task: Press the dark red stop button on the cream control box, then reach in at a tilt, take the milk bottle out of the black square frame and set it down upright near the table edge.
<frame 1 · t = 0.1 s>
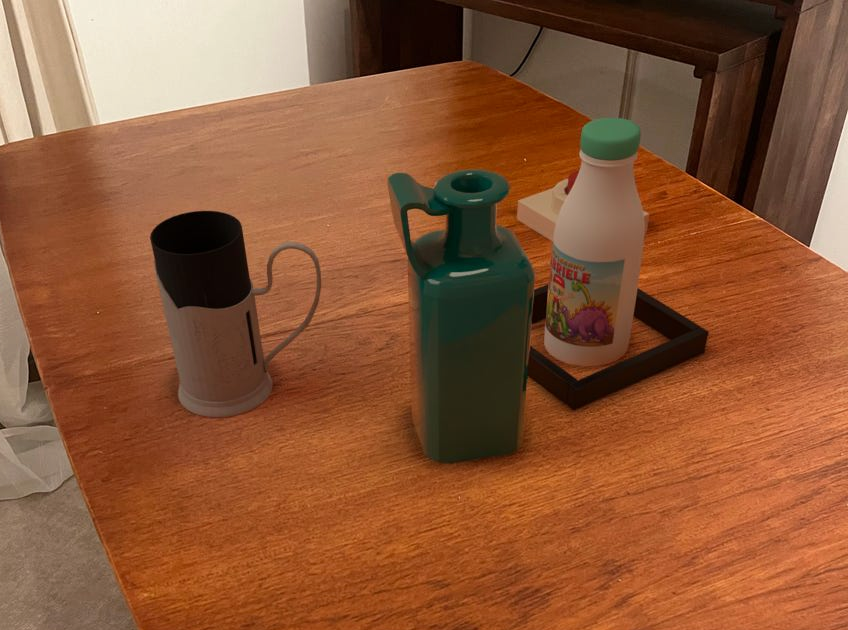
glass holder: (255, 389, 93), on the table
control box: (580, 226, 110), on the table
pitcher: (459, 439, 87), on the table
black square frame: (585, 350, 94), on the table
stop button: (584, 185, 107), point 4 cm above the table, slide at 0.1 cm
milk bottle: (584, 352, 94), resting in black square frame
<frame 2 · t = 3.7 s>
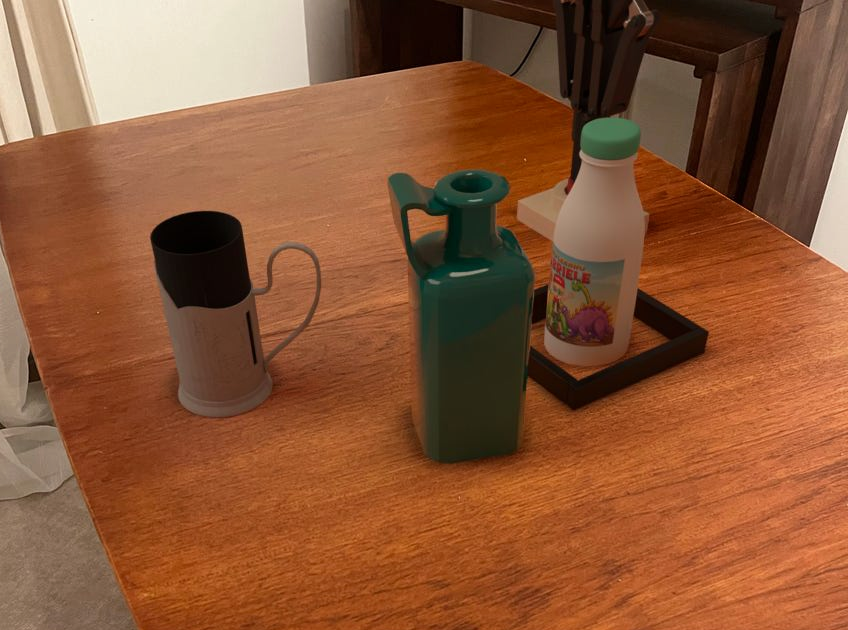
hand: (584, 177, 106), 5 cm above the table, tool pointing down, fingers closed
stop button: (584, 188, 107), point 4 cm above the table, slide at -0.2 cm, touching gripper
everything else where it was.
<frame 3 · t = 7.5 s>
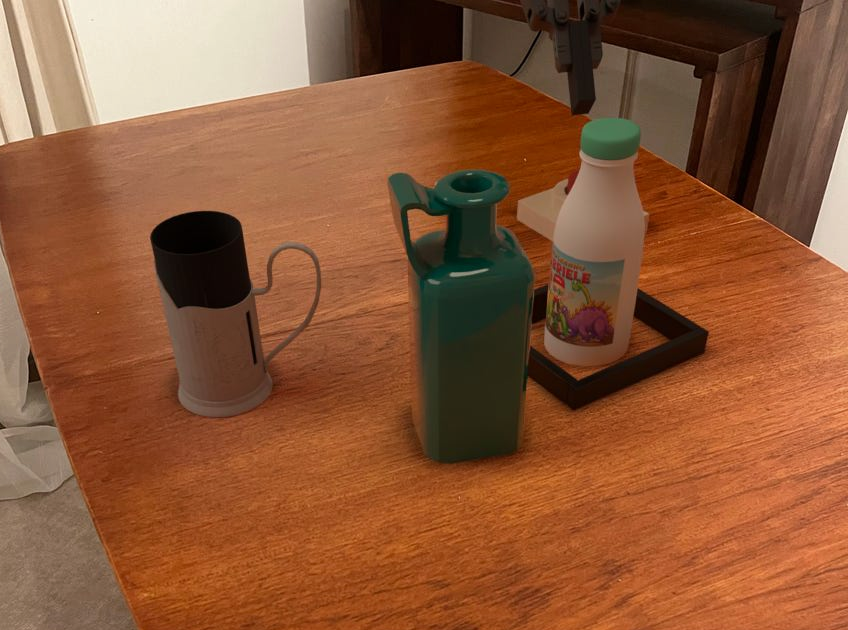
hand: (583, 107, 87), 18 cm above the table, tool tilted 45°, fingers closed
stop button: (584, 185, 107), point 4 cm above the table, slide at 0.1 cm
everything else where it was.
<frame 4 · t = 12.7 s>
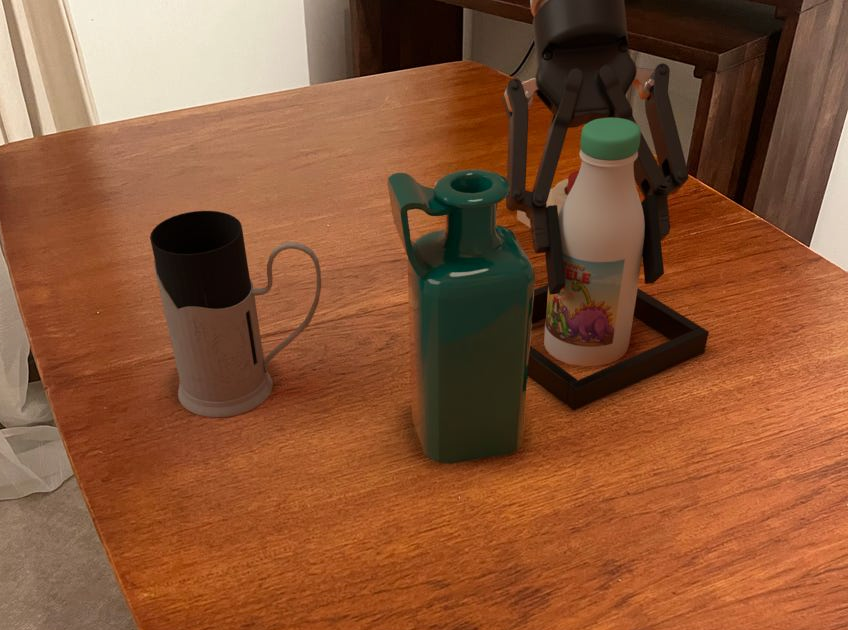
hand: (605, 283, 86), 9 cm above the table, tool tilted 45°, fingers closed on milk bottle, 8 cm apart
milk bottle: (584, 352, 94), resting in black square frame, touching gripper
everything else where it was.
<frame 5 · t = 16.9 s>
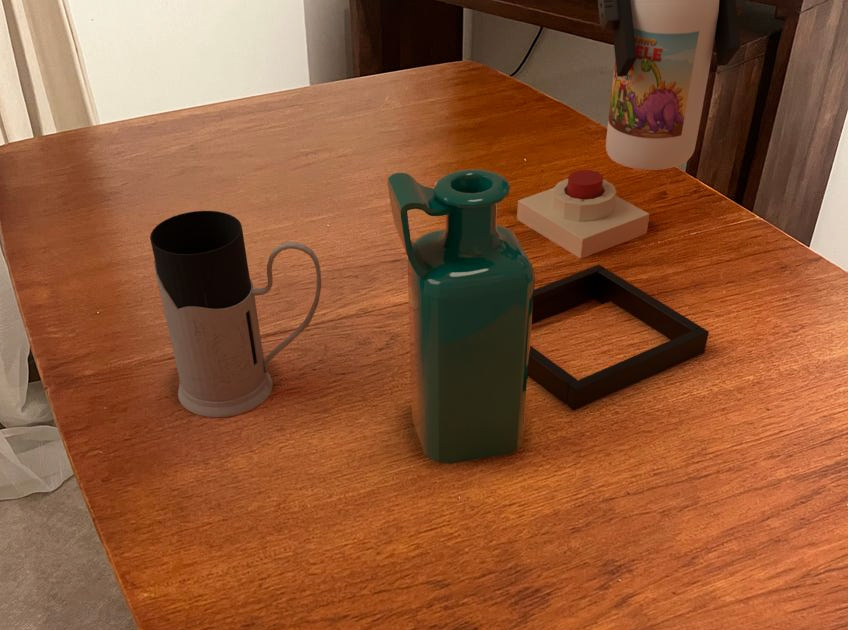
hand: (677, 62, 81), 22 cm above the table, tool tilted 45°, fingers closed on milk bottle, 8 cm apart
milk bottle: (648, 156, 90), point 14 cm above the table, touching gripper
everything else where it was.
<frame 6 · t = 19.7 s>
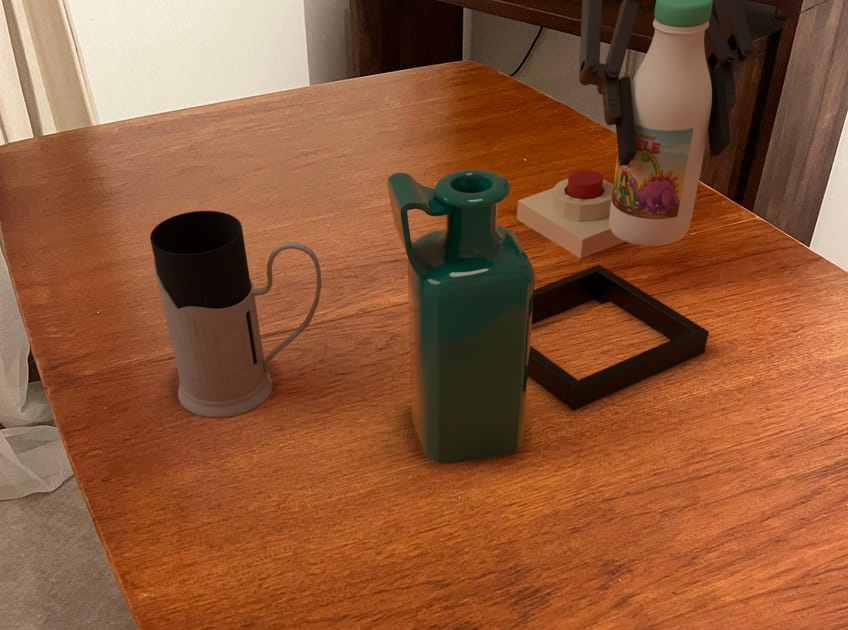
hand: (674, 154, 90), 14 cm above the table, tool tilted 45°, fingers closed on milk bottle, 8 cm apart
milk bottle: (647, 231, 99), point 5 cm above the table, touching gripper
everything else where it was.
when the fingers open (9 cm above the table, at t = 21.5 s): milk bottle stays where it is, on the table.
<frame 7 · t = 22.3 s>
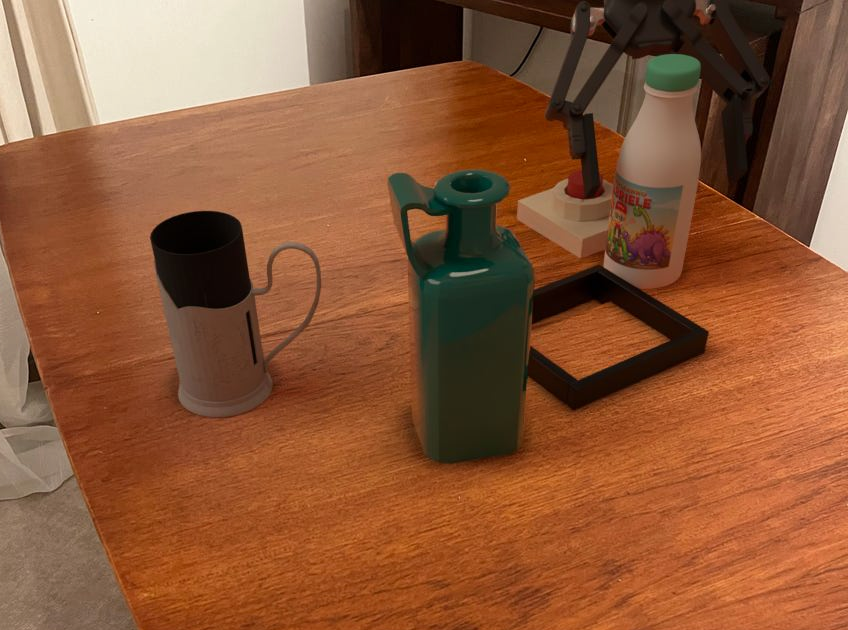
hand: (665, 185, 93), 10 cm above the table, tool tilted 45°, fingers open, 13 cm apart
milk bottle: (640, 279, 103), on the table
everything else where it was.
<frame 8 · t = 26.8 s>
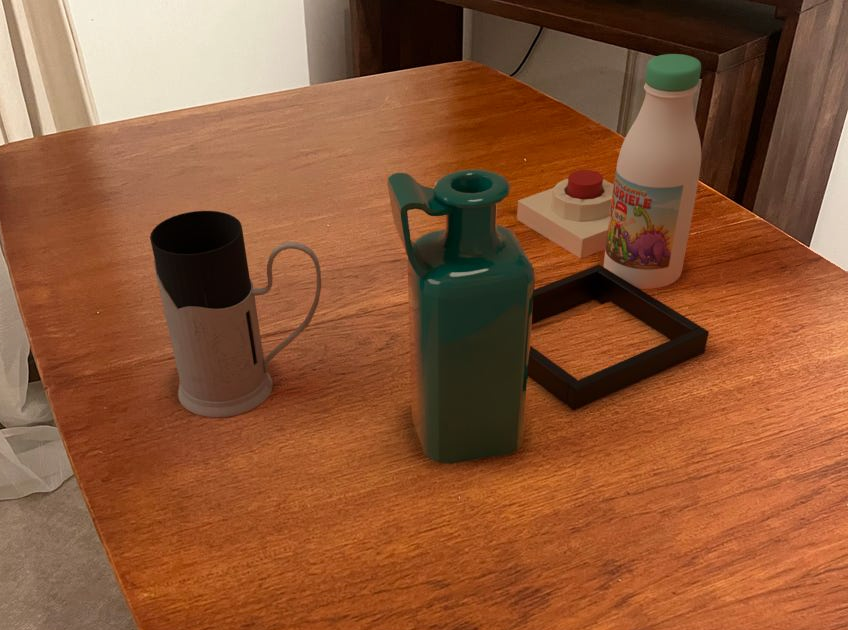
nothing on the table moved.
at the end: stop button pushed in 1.0 cm at the most during the clip, back to where it started at the end; milk bottle inside the target area (0.0 cm from its centre), on the table; milk bottle tilted 0° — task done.
